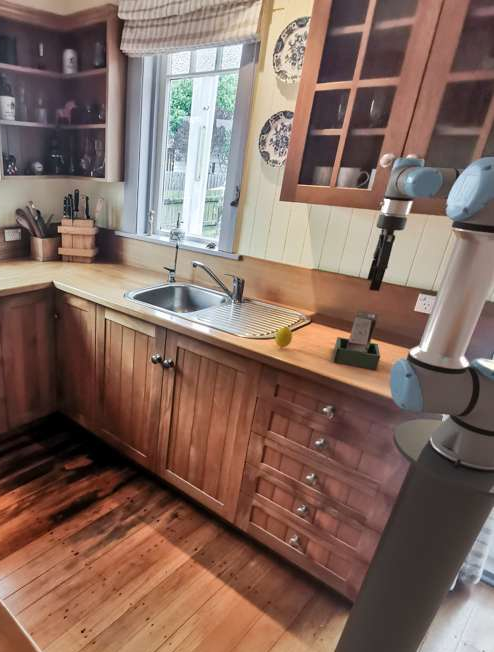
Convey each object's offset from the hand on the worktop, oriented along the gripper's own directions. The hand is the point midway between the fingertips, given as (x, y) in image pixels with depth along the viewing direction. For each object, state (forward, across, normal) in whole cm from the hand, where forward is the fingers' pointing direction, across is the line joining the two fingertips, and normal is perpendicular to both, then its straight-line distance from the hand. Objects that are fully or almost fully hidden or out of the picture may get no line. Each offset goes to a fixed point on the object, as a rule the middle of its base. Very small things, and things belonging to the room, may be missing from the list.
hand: (372, 285), depth 147 cm
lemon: (+26, +1, -23) cm, 35 cm away
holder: (+26, -1, +1) cm, 26 cm away
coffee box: (+26, -1, +1) cm, 27 cm away
